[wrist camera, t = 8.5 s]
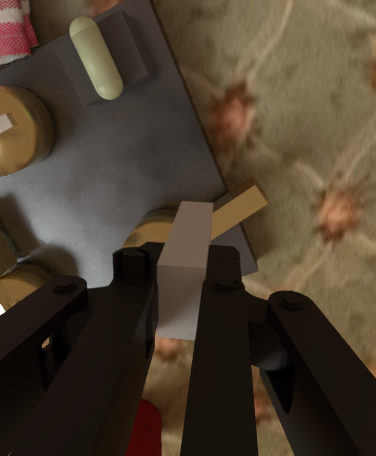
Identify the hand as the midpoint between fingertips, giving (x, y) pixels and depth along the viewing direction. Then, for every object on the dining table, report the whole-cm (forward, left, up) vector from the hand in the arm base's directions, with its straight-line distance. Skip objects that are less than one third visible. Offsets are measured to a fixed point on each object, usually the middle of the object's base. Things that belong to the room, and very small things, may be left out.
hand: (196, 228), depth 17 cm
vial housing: (-10, -3, -11) cm, 15 cm away
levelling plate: (-2, -12, -13) cm, 18 cm away
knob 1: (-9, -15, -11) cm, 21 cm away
